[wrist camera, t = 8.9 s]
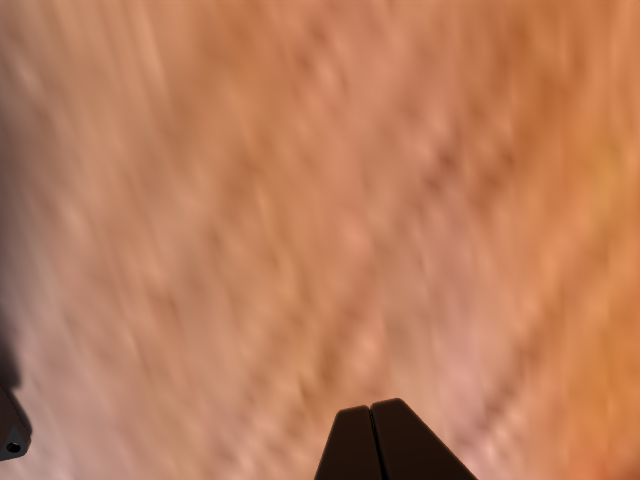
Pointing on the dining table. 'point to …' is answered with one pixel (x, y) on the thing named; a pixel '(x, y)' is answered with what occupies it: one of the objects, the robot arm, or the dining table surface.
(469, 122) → the dining table surface
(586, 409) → the dining table surface
